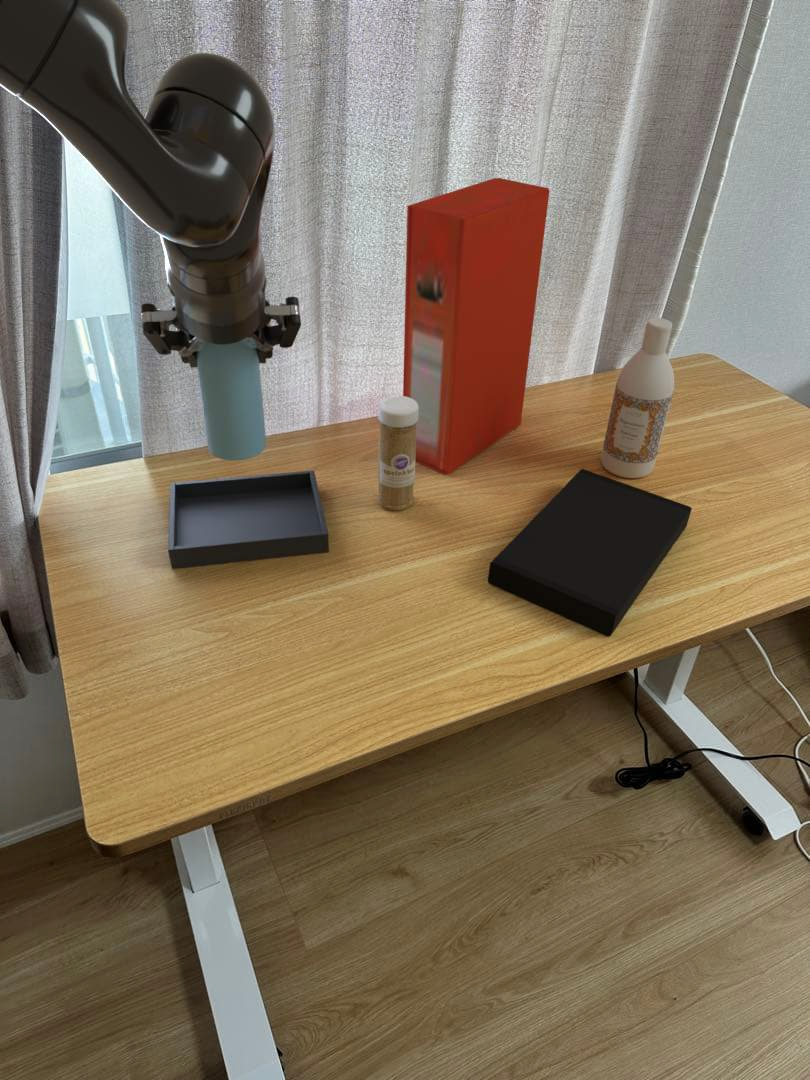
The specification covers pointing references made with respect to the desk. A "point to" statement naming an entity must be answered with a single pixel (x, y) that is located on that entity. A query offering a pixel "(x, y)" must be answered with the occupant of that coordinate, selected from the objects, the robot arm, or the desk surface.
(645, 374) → the bath foam
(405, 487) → the sprinkles bottle
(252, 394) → the bottle
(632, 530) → the external hard drive
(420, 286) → the file binder
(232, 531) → the tray
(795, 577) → the desk surface
